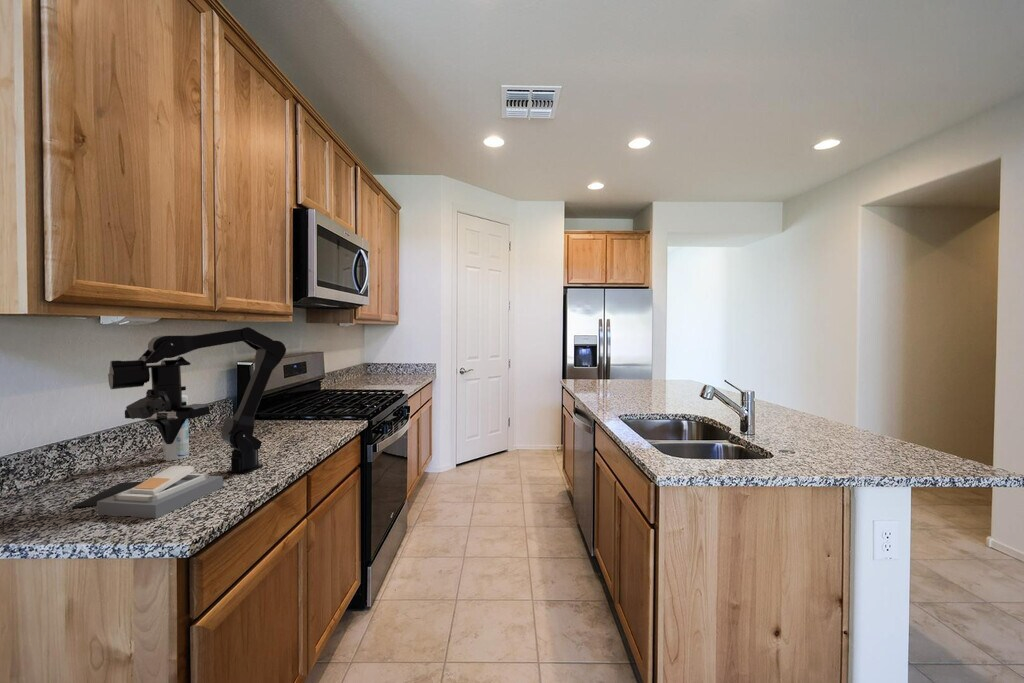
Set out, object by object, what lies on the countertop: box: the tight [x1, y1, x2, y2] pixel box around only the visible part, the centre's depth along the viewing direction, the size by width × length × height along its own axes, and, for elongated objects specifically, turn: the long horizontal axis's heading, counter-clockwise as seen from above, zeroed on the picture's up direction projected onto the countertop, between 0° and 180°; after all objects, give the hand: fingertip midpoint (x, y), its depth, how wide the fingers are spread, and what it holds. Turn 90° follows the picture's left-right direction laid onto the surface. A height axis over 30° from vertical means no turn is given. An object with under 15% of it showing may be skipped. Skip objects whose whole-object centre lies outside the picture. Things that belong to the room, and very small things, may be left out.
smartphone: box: [71, 480, 145, 510], centre depth 98 cm, size 7×1×15 cm
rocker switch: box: [130, 465, 195, 495], centre depth 95 cm, size 10×6×1 cm, turn 173°
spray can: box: [162, 394, 190, 462], centre depth 126 cm, size 6×6×20 cm
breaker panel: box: [96, 472, 224, 520], centre depth 95 cm, size 17×15×4 cm
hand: (169, 443), depth 102 cm, fingers closed
